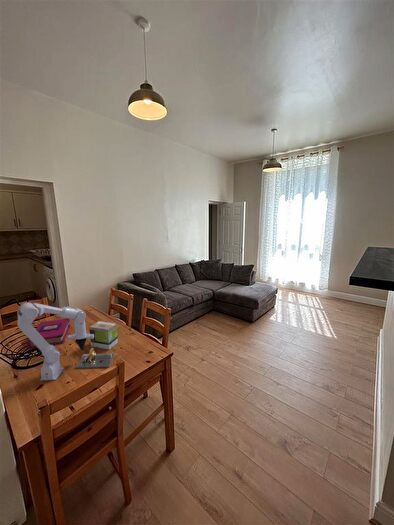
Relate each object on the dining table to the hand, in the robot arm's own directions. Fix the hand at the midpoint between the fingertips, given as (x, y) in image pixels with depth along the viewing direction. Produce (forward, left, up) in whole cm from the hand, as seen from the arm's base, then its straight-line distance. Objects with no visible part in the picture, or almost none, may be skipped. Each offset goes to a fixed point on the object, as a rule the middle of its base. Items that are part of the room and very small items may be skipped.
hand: (82, 349), depth 133 cm
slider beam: (-2, -8, -6) cm, 11 cm away
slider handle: (-1, -5, -6) cm, 8 cm away
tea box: (+16, -7, -8) cm, 20 cm away
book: (+29, +35, -8) cm, 47 cm away
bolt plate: (-3, -8, -7) cm, 11 cm away
